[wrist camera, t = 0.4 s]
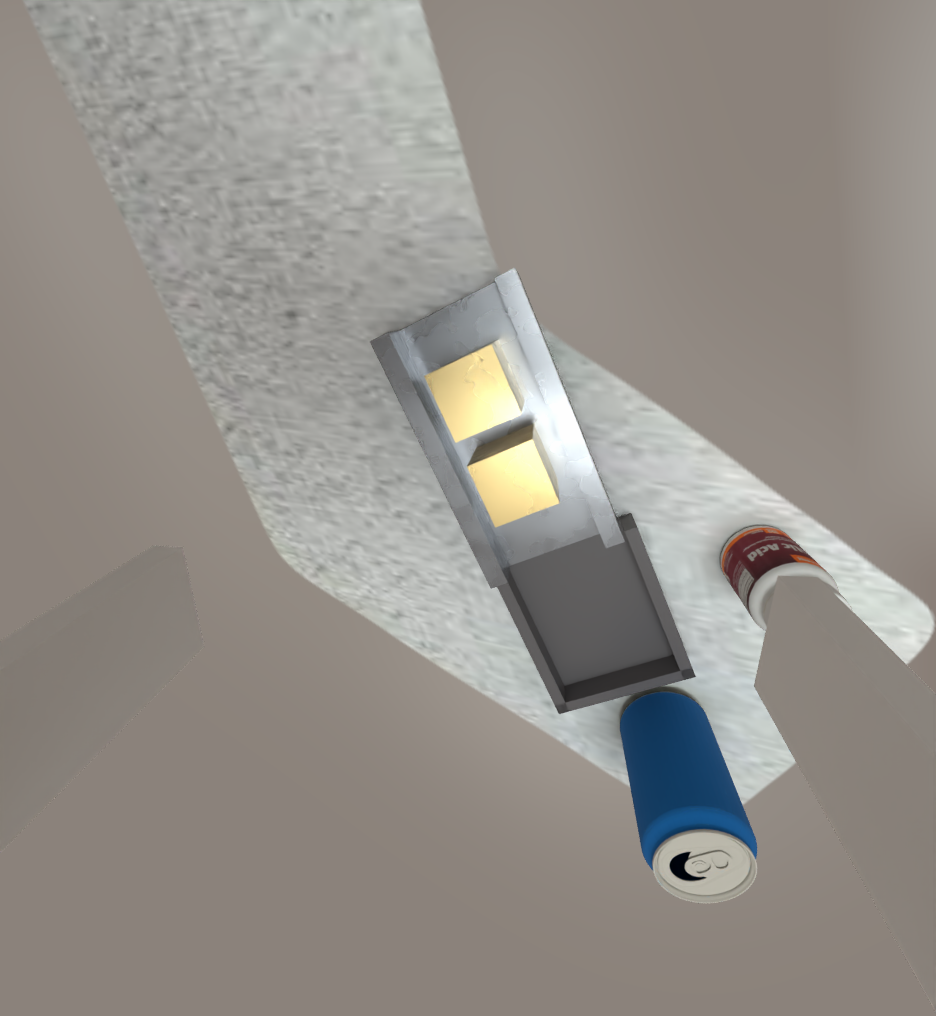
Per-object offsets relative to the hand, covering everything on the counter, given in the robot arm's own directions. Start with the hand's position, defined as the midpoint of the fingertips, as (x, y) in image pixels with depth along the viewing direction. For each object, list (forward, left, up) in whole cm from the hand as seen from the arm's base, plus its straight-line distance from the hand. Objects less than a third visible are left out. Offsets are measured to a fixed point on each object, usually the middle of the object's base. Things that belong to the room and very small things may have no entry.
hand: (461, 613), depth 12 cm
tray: (+15, -1, -25) cm, 29 cm away
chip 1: (-3, -1, -23) cm, 23 cm away
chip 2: (+3, -1, -23) cm, 23 cm away
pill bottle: (+15, +11, -25) cm, 31 cm away
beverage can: (+26, +1, -25) cm, 36 cm away
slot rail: (+1, -1, -25) cm, 25 cm away
